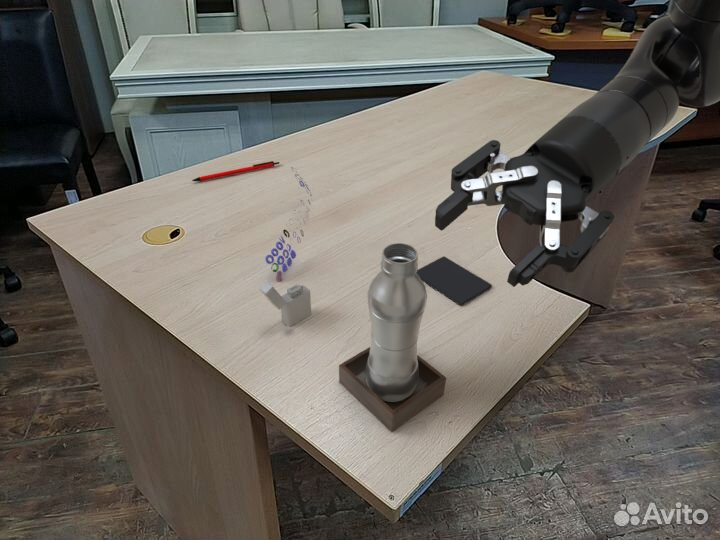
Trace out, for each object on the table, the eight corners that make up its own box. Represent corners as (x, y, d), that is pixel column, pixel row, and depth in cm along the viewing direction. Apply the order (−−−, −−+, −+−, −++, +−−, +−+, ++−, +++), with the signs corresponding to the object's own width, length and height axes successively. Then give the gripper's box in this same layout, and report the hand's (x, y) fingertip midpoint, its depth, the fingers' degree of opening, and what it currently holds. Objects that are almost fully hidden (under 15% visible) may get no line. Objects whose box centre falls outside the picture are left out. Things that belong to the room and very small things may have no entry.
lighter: (304, 308, 76) (301, 263, 72) (312, 314, 75) (309, 268, 71) (263, 330, 73) (257, 284, 68) (271, 337, 71) (265, 290, 67)
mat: (491, 287, 81) (492, 284, 80) (461, 306, 77) (461, 303, 77) (443, 258, 87) (443, 255, 87) (413, 274, 83) (413, 271, 83)
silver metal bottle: (417, 369, 67) (432, 236, 55) (417, 412, 61) (432, 275, 50) (367, 365, 67) (370, 232, 56) (362, 408, 62) (364, 270, 50)
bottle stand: (444, 394, 64) (446, 377, 62) (391, 432, 59) (392, 415, 57) (390, 350, 70) (391, 334, 68) (339, 382, 65) (338, 365, 63)
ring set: (319, 296, 82) (289, 242, 74) (255, 300, 86) (220, 249, 79) (353, 194, 98) (331, 142, 91) (297, 202, 103) (272, 152, 95)
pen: (280, 165, 115) (279, 160, 114) (192, 183, 108) (191, 178, 107) (278, 163, 116) (278, 159, 115) (191, 181, 108) (190, 176, 108)
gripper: (533, 84, 51) (414, 180, 46) (671, 158, 44) (547, 278, 40) (522, 140, 57) (416, 229, 53) (641, 212, 51) (531, 320, 46)
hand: (473, 250), depth 46 cm, fingers open, 8 cm apart
